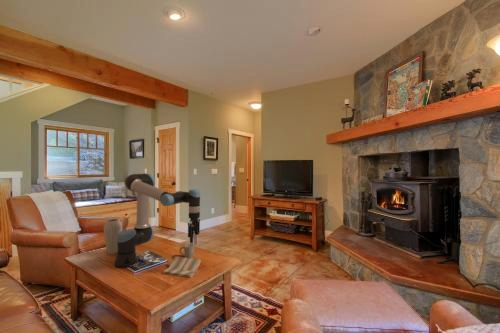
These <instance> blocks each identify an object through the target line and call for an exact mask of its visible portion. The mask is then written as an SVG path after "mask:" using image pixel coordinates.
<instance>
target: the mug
mask: <svg viewBox="0 0 500 333" xmlns="http://www.w3.org/2000/svg"><path fill="white" fill-rule="evenodd" d="M195 248H196V244H194V247H190V243H186V244H184V245H183V246H180V248H179V254H180V255H182V256H184V258H187V259H188V258H191V259H194V254H195V250H196V249H195ZM182 249H183V252H184V253H183V252H182Z"/></svg>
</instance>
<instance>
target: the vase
mask: <svg viewBox="0 0 500 333" xmlns="http://www.w3.org/2000/svg"><path fill="white" fill-rule="evenodd" d="M122 223H123V222H122V221H121V220H120V219H119V218H111V219H108V220H106V221H105V223H104V224H103V235H104V241H105V249H106V254H107V255H114V254H115V255H116V254H117V250H118V241H117V239H118V234H119V233H120V232H122V231H123V224H122Z"/></svg>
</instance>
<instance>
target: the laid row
mask: <svg viewBox="0 0 500 333" xmlns="http://www.w3.org/2000/svg"><path fill="white" fill-rule="evenodd" d="M162 273H163V275H169V276H176V277H181V278H182V277H183V278H189V279H191V278H192V277H193V276H194V275H195V274H196V273H195V272H193V271H187V270H183V269H182V270H180V269H173V268H169V267H167V268H166V269H164V270H163V272H162Z"/></svg>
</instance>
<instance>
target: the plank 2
mask: <svg viewBox="0 0 500 333" xmlns="http://www.w3.org/2000/svg"><path fill="white" fill-rule="evenodd" d="M201 262H202V261H201V259H199V258H198V259H196V258H192V259H191V258H188V259H187V261H186V263H185V265H184V267H183V269H182V270H187V271H193V272H195V274H196V273H197V271H198V269H199V267H200V264H201Z"/></svg>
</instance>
